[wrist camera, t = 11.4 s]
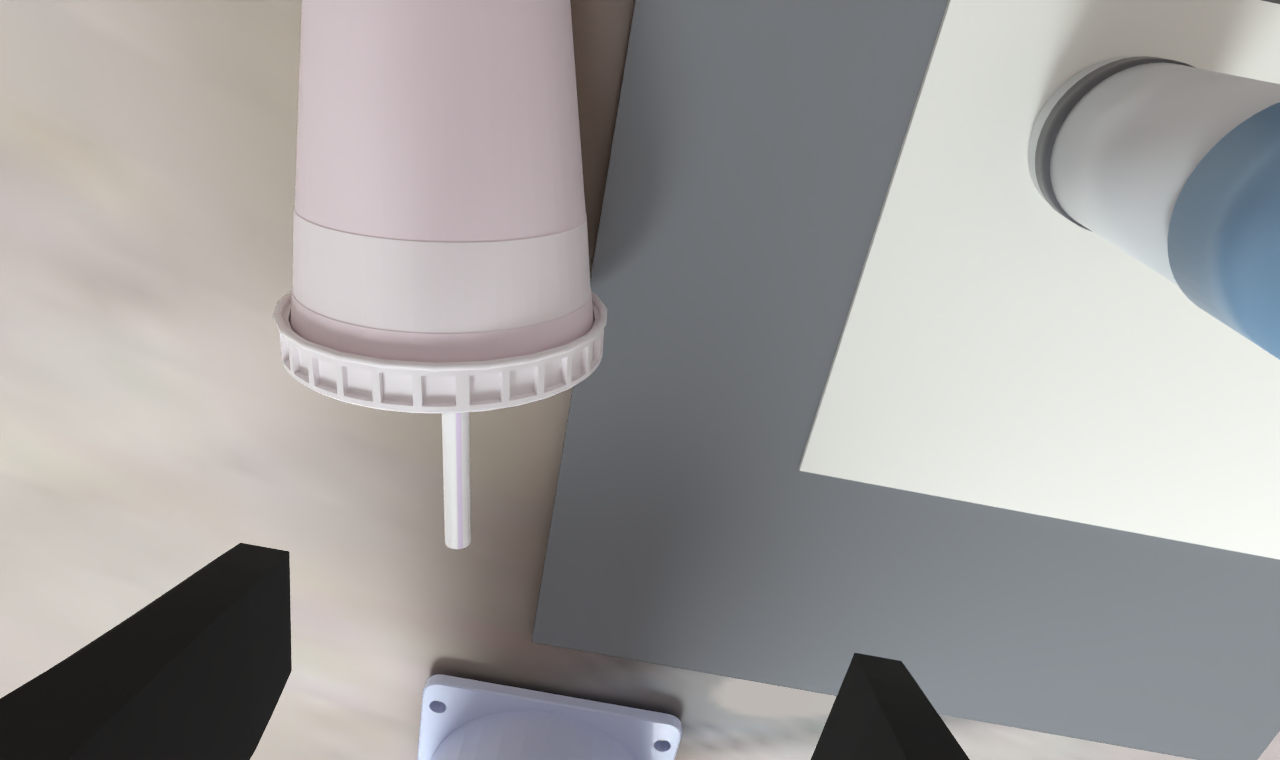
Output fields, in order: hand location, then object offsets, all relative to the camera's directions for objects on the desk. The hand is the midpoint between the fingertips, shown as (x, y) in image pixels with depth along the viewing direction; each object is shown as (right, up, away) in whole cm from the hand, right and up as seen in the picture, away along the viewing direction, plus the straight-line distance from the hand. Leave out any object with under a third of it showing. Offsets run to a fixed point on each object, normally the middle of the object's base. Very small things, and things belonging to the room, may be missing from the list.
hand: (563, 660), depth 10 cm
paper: (+14, +5, +8) cm, 17 cm away
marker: (+11, +8, +6) cm, 15 cm away
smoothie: (-2, +13, +2) cm, 14 cm away
